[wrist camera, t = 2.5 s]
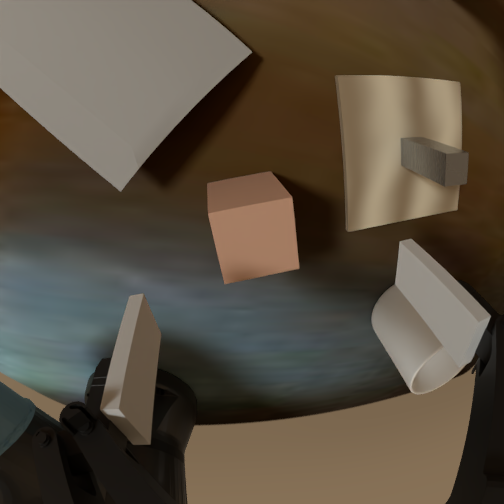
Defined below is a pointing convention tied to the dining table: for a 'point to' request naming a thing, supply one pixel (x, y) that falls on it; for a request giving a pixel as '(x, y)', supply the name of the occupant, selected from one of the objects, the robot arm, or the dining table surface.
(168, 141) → the dining table surface
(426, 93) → the board
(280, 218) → the pink rectangular block
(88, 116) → the book
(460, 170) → the post
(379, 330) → the mug
